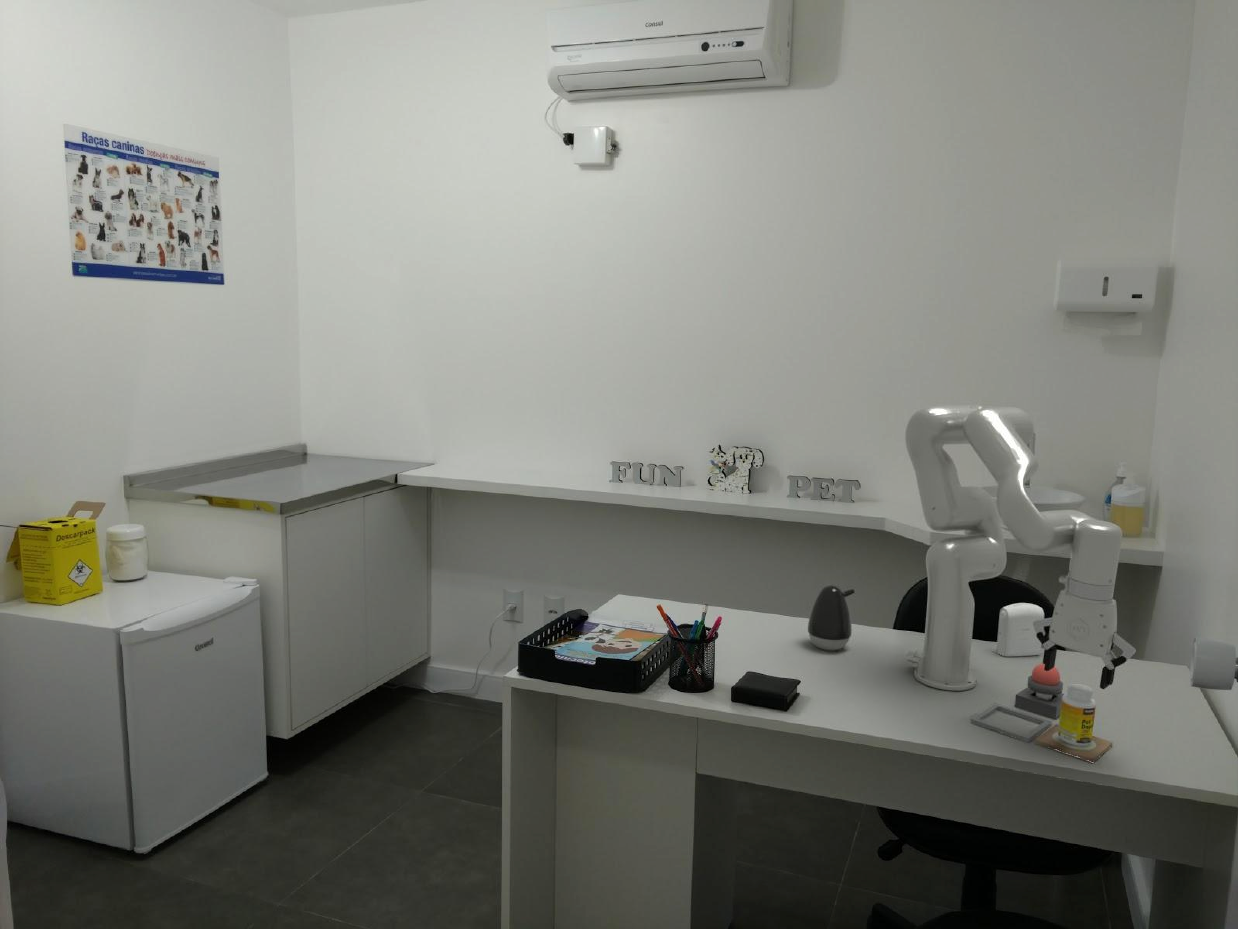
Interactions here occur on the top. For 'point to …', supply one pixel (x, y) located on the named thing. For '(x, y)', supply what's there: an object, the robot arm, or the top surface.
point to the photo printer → (1019, 630)
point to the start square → (1028, 737)
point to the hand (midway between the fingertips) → (1076, 677)
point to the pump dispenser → (830, 619)
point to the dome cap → (1045, 682)
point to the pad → (1084, 752)
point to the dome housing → (1039, 703)
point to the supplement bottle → (1077, 715)
